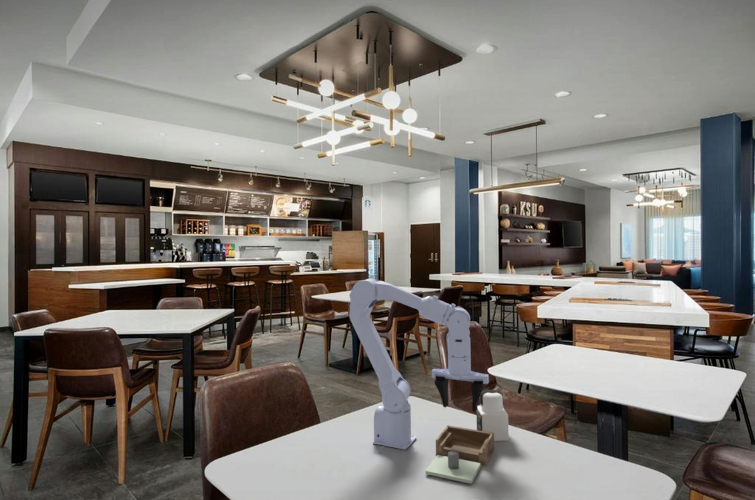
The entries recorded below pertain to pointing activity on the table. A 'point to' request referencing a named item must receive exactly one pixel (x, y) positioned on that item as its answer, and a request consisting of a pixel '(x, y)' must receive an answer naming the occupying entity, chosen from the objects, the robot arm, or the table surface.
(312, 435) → the table surface
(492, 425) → the medicine bottle
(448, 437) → the walnut box
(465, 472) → the cover plate
